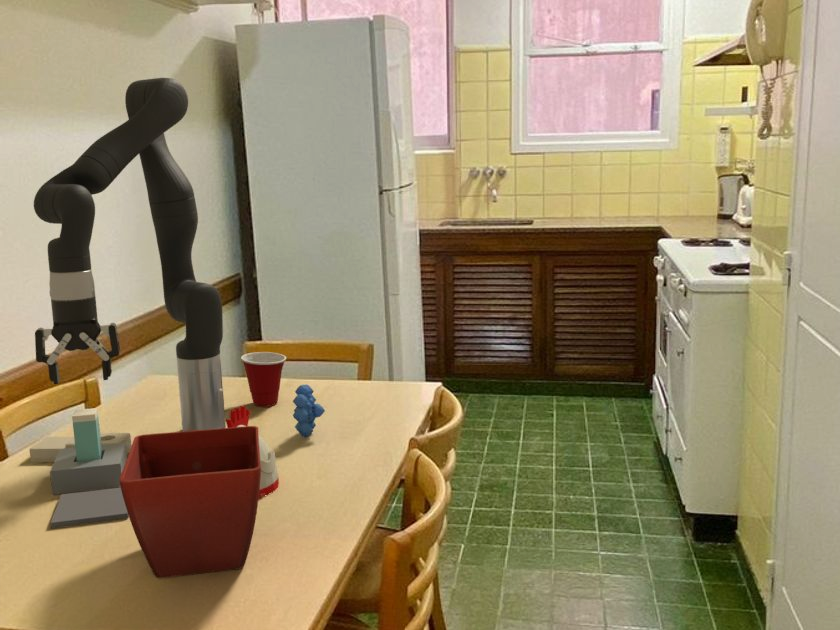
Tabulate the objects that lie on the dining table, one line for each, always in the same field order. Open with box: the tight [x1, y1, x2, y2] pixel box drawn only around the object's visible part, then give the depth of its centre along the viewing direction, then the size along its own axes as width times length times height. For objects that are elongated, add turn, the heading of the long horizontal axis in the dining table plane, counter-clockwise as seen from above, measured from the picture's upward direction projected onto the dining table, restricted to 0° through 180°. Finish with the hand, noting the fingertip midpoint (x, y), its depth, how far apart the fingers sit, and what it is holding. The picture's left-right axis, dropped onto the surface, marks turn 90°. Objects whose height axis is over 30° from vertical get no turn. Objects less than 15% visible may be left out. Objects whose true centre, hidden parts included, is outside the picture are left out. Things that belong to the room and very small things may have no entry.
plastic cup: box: [240, 351, 287, 408], centre depth 201 cm, size 11×11×12 cm
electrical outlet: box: [29, 432, 132, 463], centre depth 169 cm, size 7×4×18 cm
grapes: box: [292, 384, 326, 438], centre depth 176 cm, size 12×7×12 cm, turn 176°
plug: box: [71, 407, 103, 462], centre depth 156 cm, size 4×4×13 cm
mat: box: [50, 487, 129, 529], centre depth 143 cm, size 12×12×1 cm
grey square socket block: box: [49, 442, 128, 496], centre depth 157 cm, size 12×12×4 cm
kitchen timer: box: [225, 405, 280, 499], centre depth 150 cm, size 14×14×15 cm
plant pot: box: [119, 425, 261, 579], centre depth 124 cm, size 19×19×17 cm
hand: (81, 381), depth 153 cm, fingers open, 8 cm apart
